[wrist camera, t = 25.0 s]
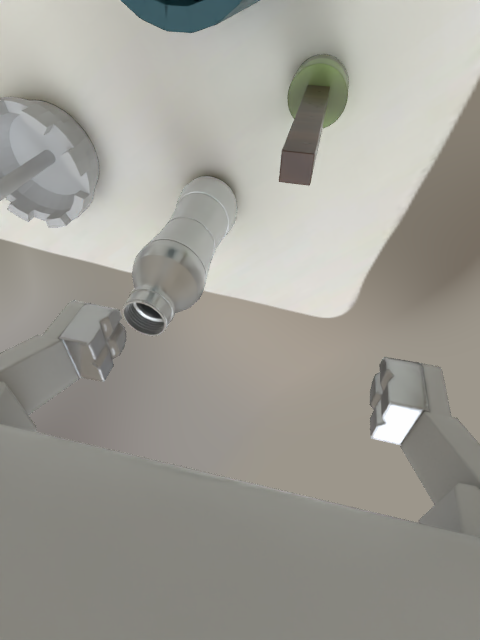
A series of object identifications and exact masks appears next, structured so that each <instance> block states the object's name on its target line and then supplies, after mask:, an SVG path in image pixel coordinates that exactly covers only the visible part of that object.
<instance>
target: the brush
mask: <svg viewBox="0 0 480 640" xmlns="http://www.w3.org/2000/svg"><path fill="white" fill-rule="evenodd" d="M348 87H349V79H348V74H347V71H346V69H345V67H344V65H343V64H342V63H341V62H340V61H339V60H338V59H337V58H335V57H333V56H331V55H326V54H321V55H316V56H313V57H311V58H309V59H308V60H306V61H305V62H304V63H303V64H302V65H301V66H300V68H299V69H298V71H297V73H296V75H295V77H294V79H293V80H292V82H291V85H290V87H289V91H288V107H289V110H290V113H291V115H292V116H293V118H294V121H293V124H292V126H291V129H290V131H289V134H288V137H287V139H286V142H285V144H284V147H283V149H282V155H281V165H280V176H279V182H285V183H293V184H301V185H310V183H311V178H312V174H313V169H314V165H315V160H316V155H317V151H318V146H319V142H320V137H321V132H322V128H325V127H328V126H329V125H331V124H333V123H334V122H335V121H336V120H337V119H338V118H339V117H340V115H341V114H342V112H343V111H344V108H345V106H346V102H347V97H348Z"/></svg>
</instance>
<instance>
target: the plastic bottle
mask: <svg viewBox="0 0 480 640" xmlns="http://www.w3.org/2000/svg"><path fill="white" fill-rule="evenodd" d="M236 214H237V201H236V198H235V195H234V193H233V191H232V190H231V189H230V187H229V186H228V185H227V184H225V183H224V182H223V181H221V180H220V179H217V178H215V177H211V176H202V177H198V178H196V179H194V180H193V181H191V182H190V183H189V184H187V185H186V186H185V187H184V189H183V190H182V192H181V194H180V196H179V199H178V201H177V205H176V209H175V211H174V213H173V215H172V217H171V219H170V220H169V222H168V223H167V224H166V225H165V227H164V228H163V229H162V230H161V232H160V233H159V234H158V235H157V236H156V237H154V238H153V239H152V240H151V241H150V242H149V243H148V244H147V245H146V246H145V247H144V248H143V249H142V250H141V251H140V252H139V254H138V255H137V256H136V258H135V261H134V265H133V271H132V277H133V283H134V289H133V291H132V292H131V294H130V295H129V299H128V300H127V302H126V303H125V305H124V307H123V310H122V313H123V317H124V319H125V321H126V322H127V324H129V326H130V327H132V328H133V329H134V330H135V331H137V332H139V333H141V334H144V335H147V336H157V335H160V334H162V333H163V332H164V331H165V329H166V328H167V326H168V324H169V323H170V322H171V321H172V319H173V317H174V315H175V313H177V312H180V311H183V310H186V309H188V308H190V307H191V306H192V305H193V304H194V303H195V302H197V300H199V299H200V297H201V295H202V293H203V290H204V287H205V284H206V279H207V275H208V270H209V266H210V263H211V260H212V258H213V255H214V252H215V250H216V248H217V247H218V245H219V244H220V242H221V240H222V239H223V238H224V237H225V236H226V235H227V234H228V232H229V231H230V230H231V228H232V227H233V225H234V223H235V220H236Z"/></svg>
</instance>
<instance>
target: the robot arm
mask: <svg viewBox="0 0 480 640" xmlns="http://www.w3.org/2000/svg"><path fill="white" fill-rule="evenodd" d="M121 318H122V316H121V313H120V310H118V309H115V308H110V307H105V306H100V305H96V304H91V303H85V302H80V301H75V300H73V301H71V302H69V303H68V304H67V306H66V307H65V308H64V309H63V310H62V312H61V313H60V314H59V315H58V316H57V318H56V319H55V320H54V321H53V323H52V324H51V325H50V326H49V328H48V329H47V330H46V331H45V332H44V334H43V335H42V336H41V335H36V336H34V337H32V338H30V339H28V340H26V341H24V342H22V343H20V344H18V345H16V346H14V347H12V348H10V349H8V350H5V351H3V352H1V353H0V640H480V444H479V443H478V441H477V440H476V439H475V438H474V437H473V436H472V435H471V433H470V432H469V431H468V430H467V429H466V428H465V426H464V425H463V424H462V423H461V422H460V421H459V420H458V418H455V417H451V412H450V407H449V402H448V397H447V392H446V386H445V382H444V377H443V371H442V369H441V367H439V366H433V365H427V364H422V363H421V364H420V363H417V362H411V361H405V360H400V359H394V358H388V357H384V358H383V359H382V361H381V363H380V372H379V373H377V374H375V376H374V379H373V381H372V386H371V390H370V405H371V407H372V408H373V409H374V411H373V413H372V415H371V417H370V435H371V438H372V439H377V440H381V441H385V442H389V443H393V444H398V445H401V446H400V447H401V449H402V450H403V452H404V454H405V455H406V457H407V459H408V461H409V462H410V464H411V466H412V467H413V469H414V471H415V472H416V474H417V476H418V477H419V479H420V481H421V483H422V484H423V486H424V488H425V489H426V491H427V493H428V495H429V496H430V498H431V500H432V501H433V503H434V506H433V507H432V508H431V509H430V510H429V511H428V512H427V513H426V514H425V515H424V516H422V517H421V518H420V520H419V523H418V522H413V521H409V520H405V519H401V518H397V517H392V516H388V515H384V514H380V513H375V512H371V511H367V510H363V509H359V508H354V507H350V506H346V505H342V504H338V503H333V502H329V501H325V500H321V499H317V498H313V497H308V496H304V495H300V494H296V493H292V492H287V491H283V490H279V489H275V488H270V487H266V486H262V485H258V484H254V483H250V482H246V481H241V480H237V479H233V478H229V477H225V476H220V475H216V474H212V473H207V472H203V471H199V470H195V469H191V468H187V467H182V466H178V465H174V464H170V463H166V462H161V461H157V460H153V459H149V458H145V457H140V456H136V455H131V454H128V453H124V452H119V451H115V450H111V449H106V448H103V447H98V446H94V445H90V444H86V443H81V442H77V441H73V440H68V439H65V438H60V437H56V436H52V435H48V434H43V433H39V432H36V425H35V424H34V423H33V421H32V420H31V419H30V417H29V416H28V415H30V414H31V413H33V412H34V411H35V410H37V409H38V408H40V407H41V406H42V405H44V404H45V403H46V402H48V401H49V400H51V399H52V398H53V397H55V396H56V395H58V394H59V393H60V392H62V391H63V390H65V389H66V388H67V387H69V386H70V385H72V384H73V383H74V382H76V381H77V380H79V377H81V378H86V379H92V380H97V381H103V382H104V381H105V380H106V378H107V376H108V375H109V373H110V371H111V369H112V368H113V366H114V364H113V360H112V359H114V358H116V357H117V356H119V355H120V354H121V352H122V350H123V349H124V346H125V342H126V330H125V327H124V326H123V325H122V324H121V323H120V320H121Z"/></svg>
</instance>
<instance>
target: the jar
mask: <svg viewBox="0 0 480 640" xmlns="http://www.w3.org/2000/svg"><path fill="white" fill-rule="evenodd" d="M121 1H122V2H123V3H124V4H125V5H126V6H127V7H128V8H129V9H130V10H132V11H133V12H134V13H135V14H136V15H137V16H138V17H139V18H141V19H142V20H144V21H146V22H148V23H151V24H153V25H155V26H157V27H159V28H161V29H163V30H166V31H171V32H185V33H192V32H193V33H194V32H197V31H199V30H202V29H205V28H208V27H211V26H213V25H216V24H218V23H220V22H222V21H224V20H225V19H227V18H229V17H231V16H233V15H234V14H236V13H238V12H240V11H242V10H244V9H245V8H247V7H249V6H251V5H253V4H254V3H256V2H258V1H260V0H121Z"/></svg>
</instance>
